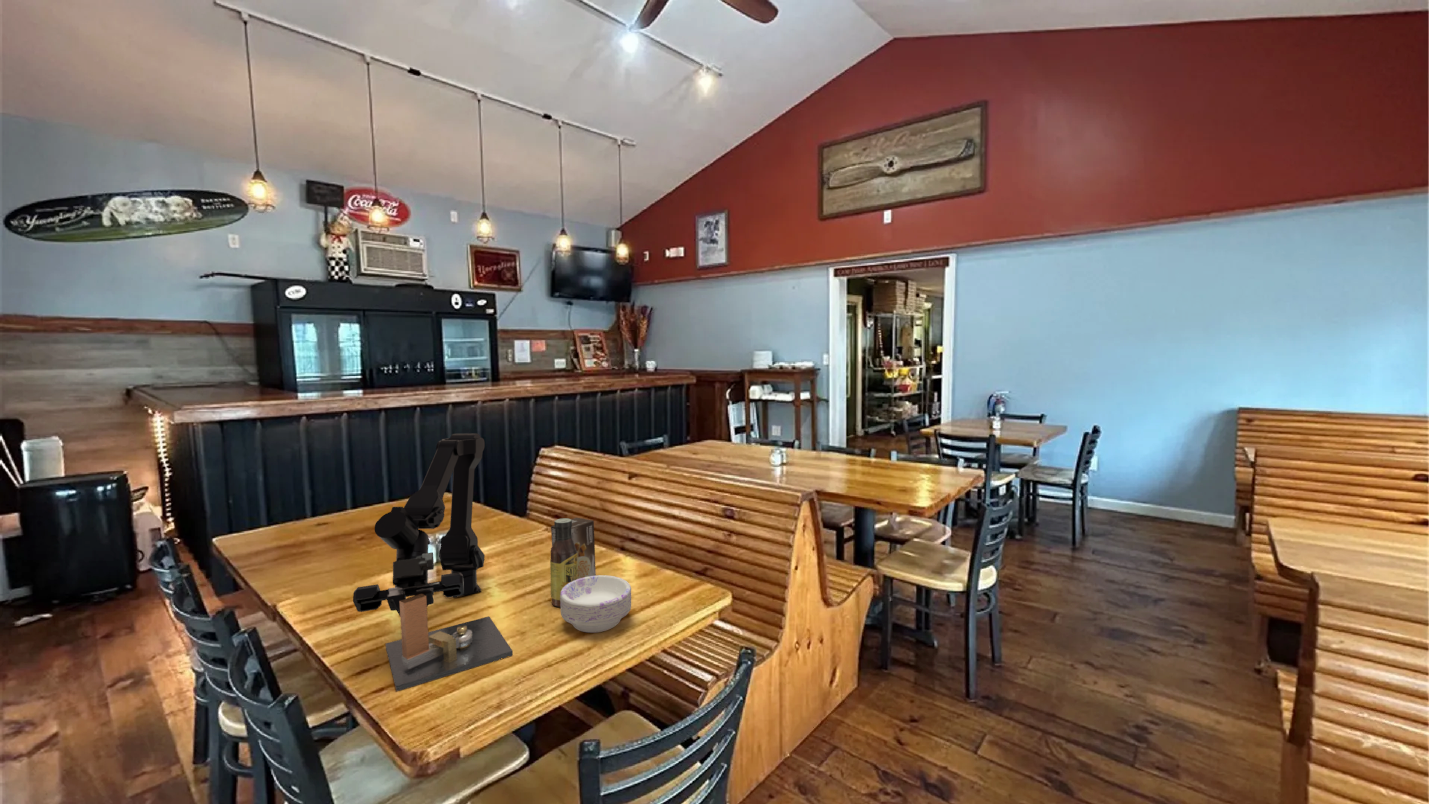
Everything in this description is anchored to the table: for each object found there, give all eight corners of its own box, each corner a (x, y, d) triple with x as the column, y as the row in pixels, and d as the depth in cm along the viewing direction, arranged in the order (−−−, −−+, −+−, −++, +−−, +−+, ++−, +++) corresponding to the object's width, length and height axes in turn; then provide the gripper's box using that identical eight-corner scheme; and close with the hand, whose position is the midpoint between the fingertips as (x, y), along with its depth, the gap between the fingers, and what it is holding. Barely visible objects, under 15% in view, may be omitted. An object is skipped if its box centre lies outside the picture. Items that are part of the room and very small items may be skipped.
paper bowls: (618, 643, 115) (617, 605, 115) (548, 637, 118) (547, 600, 117) (640, 609, 130) (640, 576, 129) (578, 605, 133) (577, 572, 132)
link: (466, 636, 115) (463, 577, 114) (475, 641, 113) (473, 581, 112) (400, 663, 105) (397, 599, 104) (410, 670, 103) (406, 604, 102)
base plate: (385, 648, 114) (385, 643, 114) (489, 620, 125) (489, 616, 125) (396, 691, 99) (396, 686, 99) (512, 655, 111) (512, 650, 110)
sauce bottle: (571, 609, 130) (568, 525, 129) (546, 607, 132) (543, 524, 130) (583, 597, 137) (580, 517, 135) (559, 595, 138) (556, 516, 136)
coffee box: (578, 575, 151) (577, 516, 149) (596, 580, 147) (595, 520, 146) (552, 587, 143) (550, 525, 141) (570, 593, 139) (568, 529, 138)
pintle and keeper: (471, 645, 114) (470, 621, 114) (465, 665, 107) (464, 640, 107) (434, 650, 113) (432, 626, 112) (425, 671, 105) (424, 645, 105)
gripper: (351, 546, 105) (343, 630, 96) (460, 533, 113) (462, 609, 104) (361, 572, 113) (354, 651, 104) (463, 558, 121) (465, 630, 111)
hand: (410, 635), depth 106 cm, fingers closed
